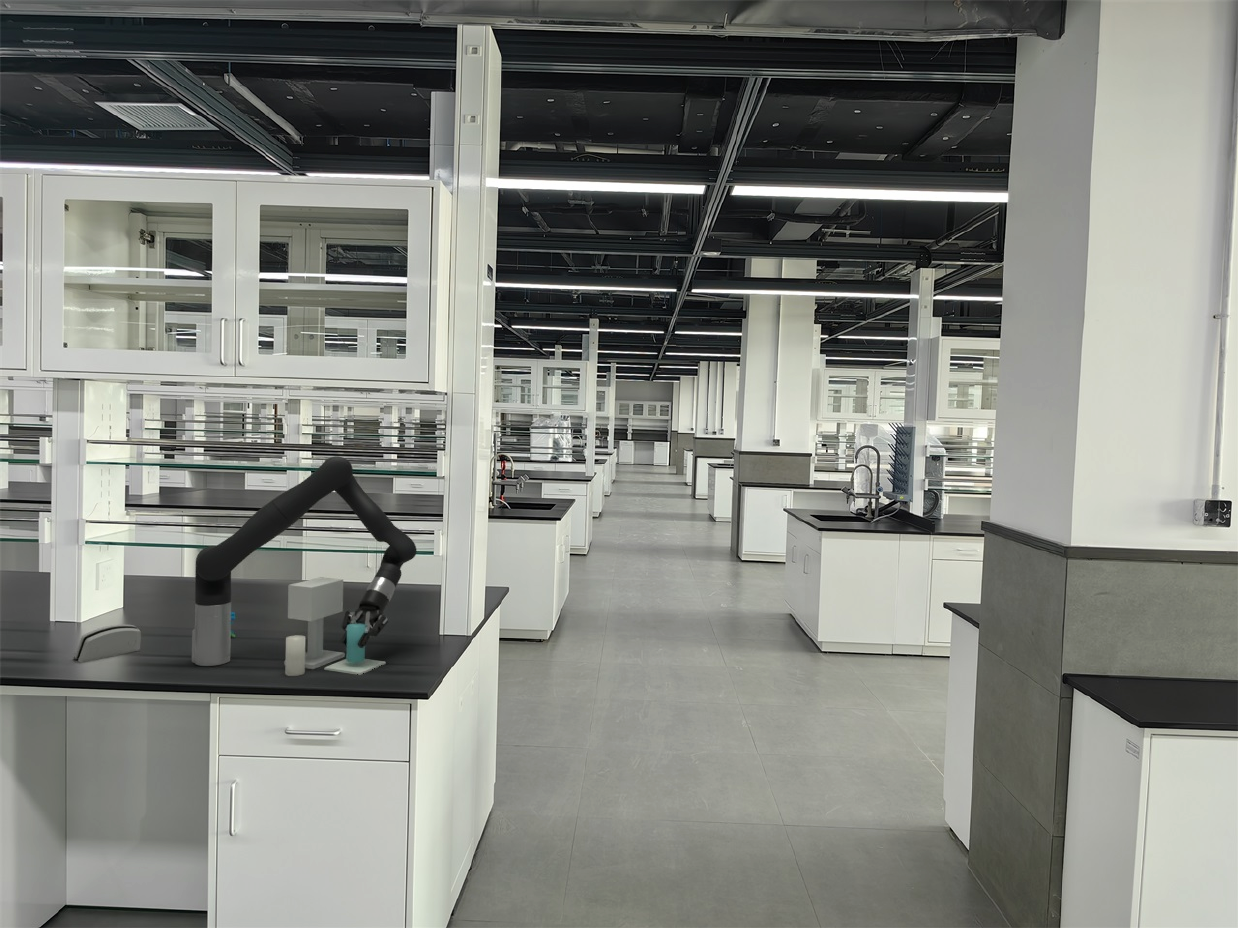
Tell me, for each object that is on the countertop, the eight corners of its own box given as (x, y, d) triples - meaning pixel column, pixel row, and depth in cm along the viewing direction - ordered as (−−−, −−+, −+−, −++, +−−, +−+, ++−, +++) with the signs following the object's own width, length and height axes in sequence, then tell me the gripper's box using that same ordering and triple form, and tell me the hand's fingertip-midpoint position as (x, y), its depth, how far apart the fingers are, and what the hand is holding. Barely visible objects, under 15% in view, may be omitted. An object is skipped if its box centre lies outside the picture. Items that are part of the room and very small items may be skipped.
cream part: (281, 674, 224) (281, 638, 224) (293, 669, 229) (294, 634, 229) (296, 676, 223) (296, 640, 222) (308, 671, 228) (309, 636, 227)
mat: (324, 669, 230) (324, 667, 230) (350, 658, 241) (351, 656, 241) (360, 674, 226) (360, 672, 226) (385, 663, 238) (385, 661, 238)
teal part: (342, 660, 232) (343, 626, 232) (353, 656, 237) (354, 622, 237) (357, 663, 231) (358, 628, 230) (368, 658, 235) (368, 624, 235)
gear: (203, 628, 264) (228, 605, 267) (216, 639, 267) (241, 616, 270) (211, 641, 255) (236, 617, 259) (225, 651, 258) (250, 627, 262)
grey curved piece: (131, 647, 246) (138, 618, 244) (139, 654, 244) (146, 625, 242) (71, 659, 232) (77, 628, 230) (78, 667, 229) (85, 636, 227)
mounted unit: (284, 664, 233) (285, 584, 232) (318, 652, 247) (319, 576, 246) (313, 669, 230) (314, 587, 229) (345, 656, 244) (347, 579, 243)
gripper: (352, 586, 242) (324, 635, 231) (393, 590, 238) (367, 641, 227) (362, 600, 248) (336, 649, 237) (403, 605, 243) (378, 655, 232)
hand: (351, 645), depth 232 cm, fingers closed on teal part, 5 cm apart
